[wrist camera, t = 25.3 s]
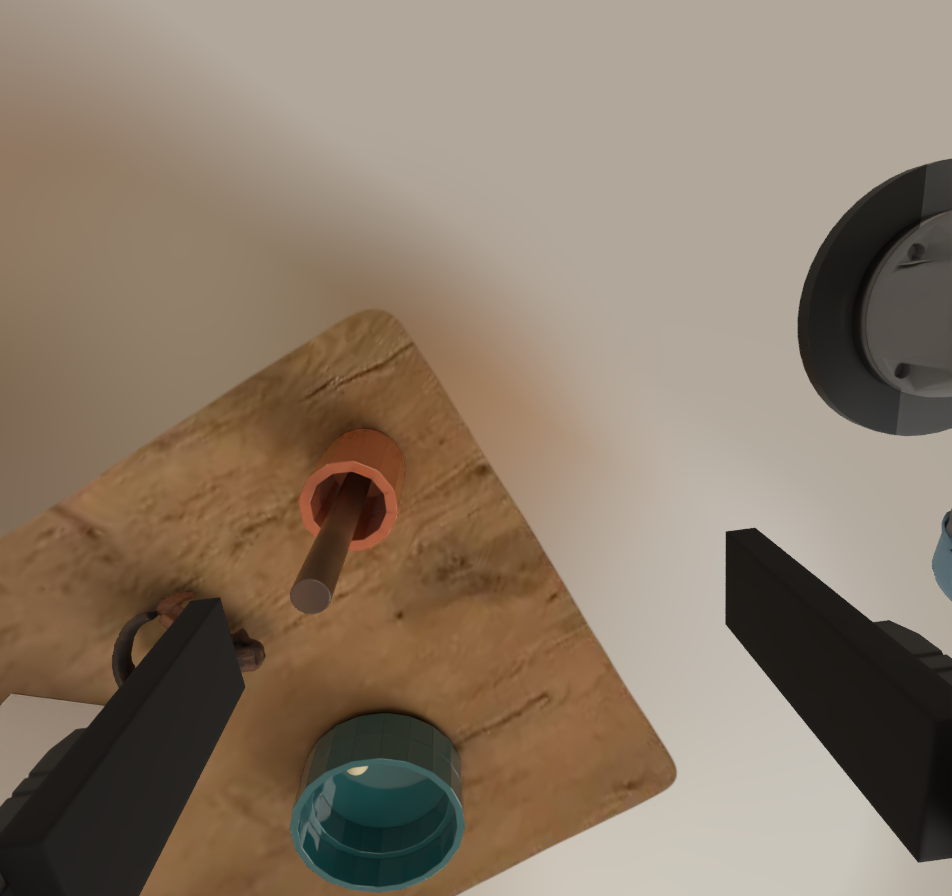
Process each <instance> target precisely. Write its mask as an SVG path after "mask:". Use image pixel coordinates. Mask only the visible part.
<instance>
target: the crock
mask: <svg viewBox="0 0 952 896" xmlns="http://www.w3.org/2000/svg"><path fill="white" fill-rule="evenodd" d="M348 472H355V473H357V474H360V475H362V476H365V477H367V478H370V479H372V482H371V485H370V488H369V491H368V494H367V497H366V500H365V503H364V506H363V508H362V511H361V514H360V517H359V520H358V523H357V526H356V529H355V532H354V535H353V538H352V541H351V543H350V546H349V549H348V551H355V550H364V549H369V548H371V547H372V546H374V545H375V544H376V543H378V542H379V541H381V540H382V539H384V538H385V537H386V536H388V535H389V533H390V531H391V529H392V526H393V524H394V522H395V520H396V517H397V515H398V511H399V506H400V500H401V495H402V489H403V484H404V478H405V465H404V459H403V455H402V453H401V451H400V449H399V447H398V446H397V445H396V443H395V442H394V441H393V440H392V439H390V438H389V437H388V436H386V435H385V434H383V433H381V432H378V431H375V430H371V429H356V430H352V431H349V432H346V433H344V434H343V435H341V436H340V437H338V438H337V439H336V440H335V441H334V442H333V443H331V444H330V446H329V447H328V449H327V450H326V451H325V453H324V454H323V456H322V457H321V459H320V460H319V462H318V463H317V465H316V466H315V468H314V469H313V471H312V472H311V474H310V475H309V477H308V478H307V480H306V482H305V485H304V487H303V490H302V492H301V495H300V498H299V506H300V511H301V516H302V521H303V525H304V526H305V527H306V528H307V529H308V531H309V532H310V533H311V534H312V535H313V536H314V537H315V538H316V537H317V535H318V533H319V531H320V529H321V527H322V525H323V523H324V521H325V518H326V516H327V514H328V512H329V510H330V508H331V506H332V504H333V502H334V500H335V498H336V496H337V494H338V492H339V490H340V488H341V485H342V483H343V481H344V479H345V477H346V475H347V473H348Z"/></svg>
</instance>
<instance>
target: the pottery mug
mask: <svg viewBox="0 0 952 896" xmlns="http://www.w3.org/2000/svg"><path fill="white" fill-rule="evenodd" d="M194 595H195V593H193V592H181V593H179V594H173V595H171V596H169V597H167V598H162V599H160V600H158V601H157V602H155V603H154V604H153V605H151V606H150V607H149V608H148V609H146V610H145V611H144V612H142V613H140V614H138V615H136V616H135V617H134V618H132V619H131V620H129V621H128V622H127V623H126V624H125V626H124V627H123V628H122V630H121V632H120V634H119V637H118V638H117V640H116V643H115V645H114V651H113V655H112V669H113V675H114V677H115V681H116V683H117V685H118V687H119V688H120V687H121V685H122V684H123V683H124V682H125V681H126V679H127V678H128V677H129V676H130V674H131V673H132V672H133V670H134V669H135V665H134V664H133V662H132V656H131V652H132V646H133V641H134V636H135V634H136V633H137V631H138V629H139V628H140V627H141V626H142V625H143V624H145V623H146V622H148V621H151V620H153V619H155V618H156V617H157V616H158V615H160V616H161V618H160V623H161V624H163V625H164V626H165V627H166V628H167V629H168V628H169V627H170V626H171V624H172V623H173V622H174V621H175V620H176V618H177V617H178V616H179V615H180V613H181V612H182V611H183V610H184V609H183V608H182V607H181V606H180V605H181V604H182V603H183V602H185V601H187V600H189V599H192V598H193V597H194ZM231 638H232V642H233V645H234V649H235V652H236V656H237V659H238V663H239V666H240V670H241V672H248V671H254V670H256V669H258V668H259V667H260V666H261V664H262V662H263V660H264V658H265V652H264V647H263V645H262V644H261V643H260V642H259V641H257V640H254V639H251V638H250V637H249V636H248V633H247V632H246V631H245V630H244V629H240V630H239V631H238V632H236V633H234V634H231Z"/></svg>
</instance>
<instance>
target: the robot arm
mask: <svg viewBox="0 0 952 896" xmlns="http://www.w3.org/2000/svg"><path fill="white" fill-rule="evenodd" d="M852 330H853V338H854V343H855V347H856V350H857V353H858V355H859V358H860V359H861V361H862V363H863V365H864V366H865V368H866V369H867V370H868V372H869V373H870V374H871V375H872V376H873V377H874V378H875V379H876V380H878V381H879V382H881V383H882V384H883V385H885V386H887V387H889V388H891V389H894V390H896V391H900V392H904V393H908V394H912V395H916V396H922V397H951V396H952V210H948V211H942V212H938V213H935V214H932V215H929V216H926V217H924V218H922V219H920V220H918V221H916V222H914V223H912V224H911V225H909V226H907V227H906V228H905V229H903V230H902V231H900V232H899V233H898V234H897V235H895V236H894V237H893V238H892V239H891V240H890V241H889V242H888V243H887V244H886V245H885V246H884V247H883V248H882V249H881V251H880V252H879V253H878V254H877V256H876V257H875V258H874V260H873V261H872V263H871V264H870V266H869V267H868V269H867V271H866V273H865V275H864V277H863V279H862V281H861V284H860V286H859V289H858V292H857V295H856V298H855V303H854V308H853V316H852ZM932 569H933V571H934V575H935V578H936V581H937V583H938V585H939V587H940V588H941V589H942V591H943V592H944V593H945V595H946V596H947V597H948V598H949V599H950V600H951V601H952V509H951V511H949V512H947V513H946V515H945V516H944V518H943V521H942V534H941V537H940V539H939V542H938V545H937V547H936V550H935V553H934V556H933V560H932ZM726 625H727V626H728V628H729V629H730V630H731V631H732V633H733V634H734V635H735V636H736V638H737V639H738V640H739V641H740V642H741V644H742V645H743V646H744V648H745V649H746V650H747V651H748V652H749V654H750V655H751V656H752V657H753V659H754V660H755V661H756V662H757V663H758V665H759V666H760V667H761V668H762V670H763V671H764V672H765V673H766V675H767V676H768V677H769V678H770V679H771V681H772V682H773V683H774V684H775V686H776V687H777V688H778V690H779V691H780V692H781V693H782V695H783V696H784V697H785V698H786V699H787V701H788V702H789V703H790V704H791V706H792V707H793V708H794V709H795V711H796V712H797V713H798V714H799V716H800V717H801V718H802V719H803V721H804V722H805V723H806V724H807V725H808V727H809V728H810V729H811V730H812V732H813V733H814V734H815V735H816V736H817V738H818V739H819V740H820V741H821V743H822V744H823V745H824V747H825V748H826V749H827V750H828V751H829V752H830V754H831V755H832V756H833V758H834V759H835V760H836V761H837V763H838V764H839V765H840V766H841V767H842V768H843V770H844V771H845V772H846V773H847V775H848V776H849V777H850V779H851V780H852V781H853V782H854V784H855V785H856V786H857V787H858V789H859V790H860V791H861V792H862V794H863V795H864V796H865V797H866V798H867V800H868V801H869V802H870V803H871V805H872V806H873V807H874V808H875V810H876V811H877V812H878V813H879V815H880V816H881V817H882V818H883V820H884V821H885V822H886V823H887V824H888V826H889V827H890V828H891V829H892V831H893V832H894V833H895V834H896V835H897V837H898V838H899V839H900V841H901V842H902V843H903V844H904V846H905V847H906V848H907V849H908V850H909V852H910V853H911V854H912V855H913V857H914V858H915V859H916V860H917V862H926V861H933V860H941V859H948V858H952V658H950V657H949V656H948V655H943V653H942V651H941V650H940V649H938V648H937V647H936V646H934V645H933V644H932V643H930V642H929V641H928V640H926V639H925V638H924V637H922V636H921V635H920V634H918V633H916V632H914V631H912V630H909V629H907V628H905V627H903V626H901V625H898V624H896V623H894V622H892V621H890V620H887V621H880V622H872V621H871V620H869V619H868V618H867V617H866V616H864V615H863V614H862V613H861V612H860V611H858V610H857V609H856V608H855V607H853V606H852V605H851V604H850V603H848V602H847V601H846V600H845V599H843V598H842V597H840V595H838V594H837V593H836V592H835V591H833V590H832V589H831V588H829V587H828V586H827V585H826V584H824V583H823V582H822V581H821V580H820V579H818V578H817V577H816V576H815V575H813V574H812V573H811V572H810V571H808V570H807V569H806V568H805V567H803V566H802V565H801V564H800V563H798V562H797V561H796V560H795V559H793V558H792V557H791V556H790V555H788V554H787V553H786V552H785V551H783V550H782V549H781V548H780V547H778V546H777V545H776V544H775V543H773V542H772V541H771V540H770V539H768V538H767V537H766V536H765V535H763V534H762V533H761V532H760V531H758V530H757V529H756V528H751V529H742V530H735V531H727V532H726ZM244 689H245V684H244V681H243V677H242V674H241V670H240V666H239V663H238V659H237V656H236V652H235V649H234V645H233V642H232V638H231V634H230V631H229V627H228V624H227V620H226V617H225V613H224V609H223V606H222V602H221V599H220V598H212V599H204V600H197V601H190V602H189V604H188V605H187V606H186V607H185V609H184V610H183V611H182V612H181V613H180V615H179V616H178V617H177V618H176V620H175V621H174V622H173V623H172V624H171V626H170V627H169V628H168V629H167V631H166V632H165V633H164V634H163V635H162V637H161V638H160V639H159V640H158V642H157V643H156V644H155V645H154V646H153V648H152V649H151V650H150V651H149V653H148V654H147V655H146V656H145V657H144V659H143V660H142V661H141V662H140V663H139V665H138V666H137V667H136V668H135V670H134V671H133V672H132V673H131V674H130V676H129V677H128V678H127V679H126V681H125V682H124V683H123V684H122V685H121V687H120V688H119V689H118V690H117V692H116V693H115V694H114V695H113V696H112V698H111V699H110V700H109V701H108V703H107V704H106V705H105V706H104V707H103V709H102V710H101V711H100V712H99V714H98V715H97V716H96V717H95V718H94V720H93V721H92V722H91V723H90V725H89V726H88V727H87V728H80V729H75V730H74V731H73V732H71V733H70V734H69V735H68V736H66V737H65V738H64V739H63V740H61V741H60V742H59V743H57V744H56V745H55V746H54V747H52V748H51V749H50V750H48V752H47V753H46V754H45V755H44V756H43V757H42V759H41V760H40V761H39V762H38V763H37V764H36V766H35V767H34V768H33V769H32V770H31V771H30V773H29V776H28V778H24V780H23V781H22V782H21V783H20V784H19V785H18V786H17V788H16V789H15V790H14V791H13V792H12V796H11V798H7V799H6V800H5V802H4V803H3V804H2V805H1V806H0V896H139V895H140V893H141V891H142V889H143V887H144V885H145V883H146V881H147V879H148V877H149V875H150V873H151V871H152V869H153V868H154V866H155V864H156V862H157V860H158V858H159V856H160V854H161V852H162V850H163V848H164V846H165V844H166V842H167V840H168V838H169V836H170V834H171V832H172V830H173V828H174V826H175V824H176V822H177V820H178V818H179V816H180V814H181V812H182V811H183V809H184V807H185V805H186V803H187V801H188V799H189V797H190V795H191V793H192V791H193V789H194V787H195V785H196V783H197V781H198V779H199V777H200V775H201V773H202V771H203V769H204V767H205V765H206V763H207V761H208V759H209V757H210V756H211V754H212V752H213V750H214V748H215V746H216V744H217V742H218V740H219V738H220V736H221V734H222V732H223V730H224V728H225V726H226V724H227V722H228V720H229V718H230V716H231V714H232V712H233V710H234V708H235V706H236V704H237V702H238V700H239V699H240V697H241V695H242V693H243V691H244Z"/></svg>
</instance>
